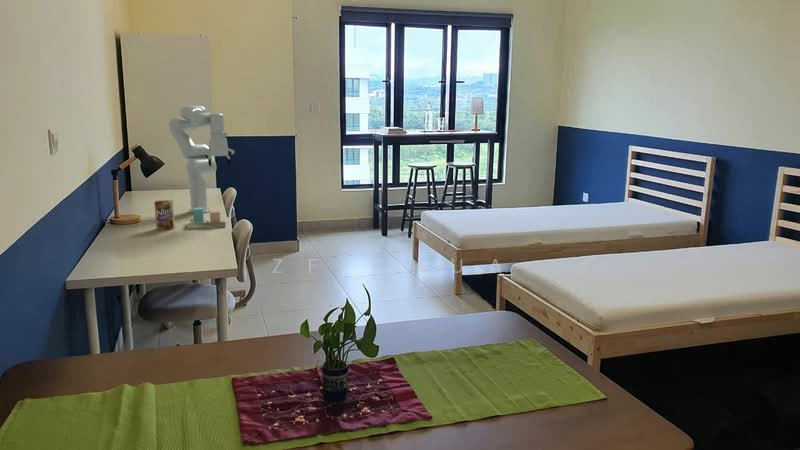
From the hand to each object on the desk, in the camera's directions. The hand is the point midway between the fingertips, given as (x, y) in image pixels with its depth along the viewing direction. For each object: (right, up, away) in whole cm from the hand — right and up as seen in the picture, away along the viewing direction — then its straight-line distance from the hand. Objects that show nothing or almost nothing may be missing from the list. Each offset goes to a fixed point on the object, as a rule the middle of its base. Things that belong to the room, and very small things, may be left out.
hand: (219, 166), depth 349 cm
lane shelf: (-3, -34, -12) cm, 36 cm away
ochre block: (+1, -34, -11) cm, 36 cm away
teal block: (-12, -31, +1) cm, 33 cm away
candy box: (-23, -35, -18) cm, 46 cm away
